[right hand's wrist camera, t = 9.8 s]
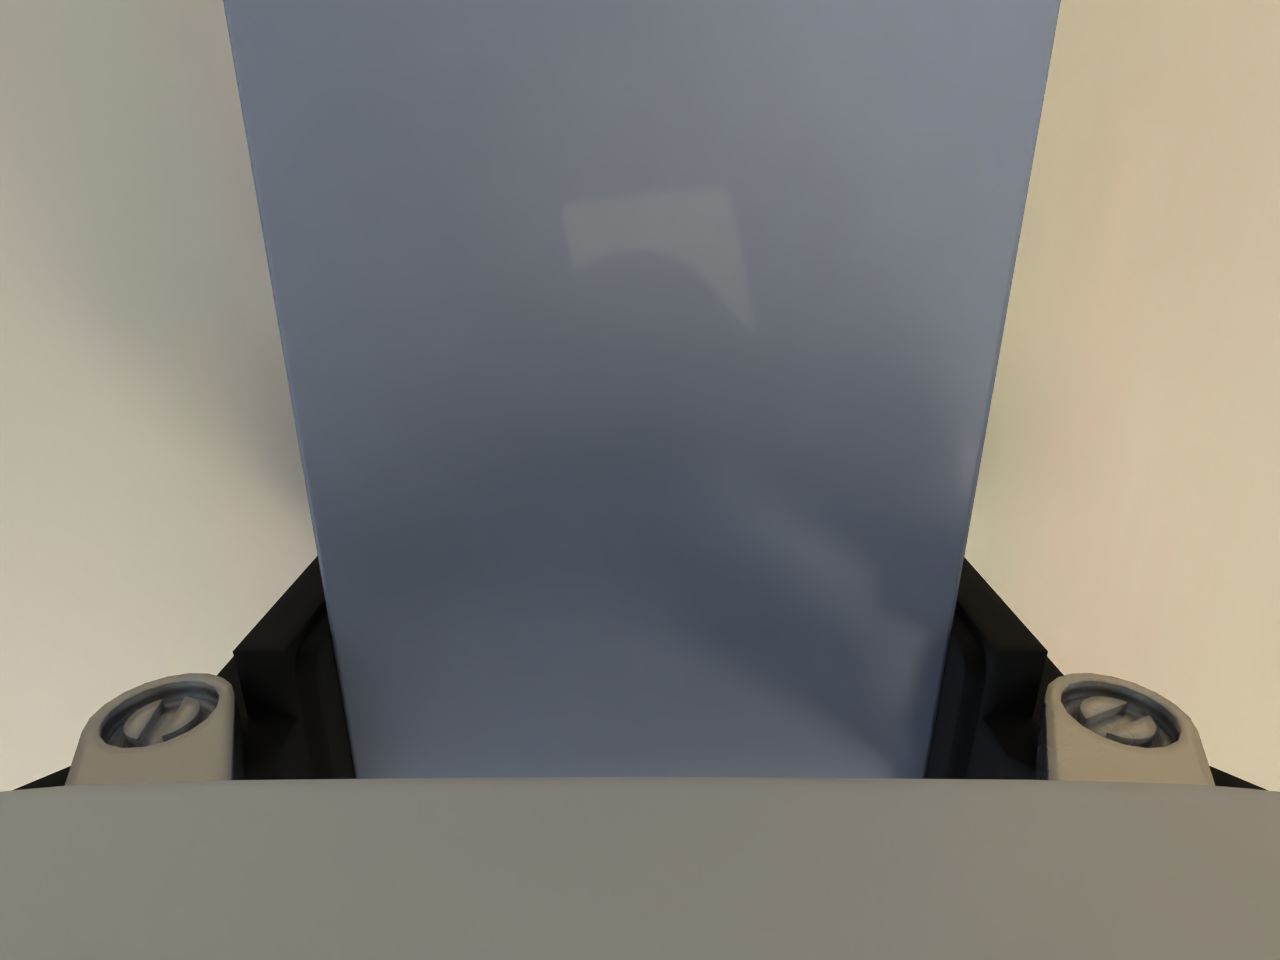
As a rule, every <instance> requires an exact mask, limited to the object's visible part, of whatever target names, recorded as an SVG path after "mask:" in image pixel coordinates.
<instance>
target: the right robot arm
mask: <svg viewBox="0 0 1280 960" xmlns="http://www.w3.org/2000/svg"><path fill="white" fill-rule="evenodd" d="M1047 653H1048V651H1047V650H1046V649H1045V648H1044V647H1043V645H1042V644H1041V643H1040V642H1039V641H1038V640H1037V639H1036V638H1035V636H1034V635H1033V634H1032V633H1031V632H1030V631H1029V630H1028V629H1027V627H1026V626H1025V625H1024V624H1023V623H1022V622H1021V621H1020V620H1019V618H1018V617H1017V616H1016V615H1015V614H1014V613H1013V612H1012V611H1011V609H1010V608H1009V607H1008V606H1007V605H1006V604H1005V603H1004V601H1003V600H1002V599H1001V598H1000V597H999V596H998V595H997V594H996V592H995V591H994V590H993V589H992V588H991V587H990V586H989V585H988V583H987V582H986V581H985V580H984V579H983V578H982V577H981V576H980V574H979V573H978V572H977V571H976V570H975V569H974V568H973V567H972V565H971V564H970V563H969V562H968V561H967V560H966V559H965V558H964V560H963V566H962V572H961V577H960V583H959V589H958V595H957V600H956V606H955V612H954V618H953V623H952V629H951V635H950V640H949V646H948V652H947V658H946V664H945V669H944V675H943V681H942V687H941V693H940V698H939V704H938V710H937V716H936V721H935V727H934V733H933V739H932V745H931V750H930V756H929V762H928V768H927V773H926V779H885V778H771V777H476V778H387V779H356V777H355V771H354V765H353V759H352V753H351V748H350V742H349V736H348V730H347V724H346V718H345V712H344V706H343V701H342V695H341V689H340V683H339V677H338V671H337V665H336V659H335V654H334V648H333V642H332V636H331V630H330V624H329V618H328V612H327V607H326V601H325V595H324V589H323V583H322V577H321V571H320V565H319V560H318V556H317V557H316V558H315V559H314V561H313V562H312V563H311V564H310V565H309V566H308V567H307V568H306V570H305V571H304V572H303V573H302V574H301V575H300V576H299V577H298V579H297V580H296V581H295V582H294V583H293V584H292V585H291V586H290V588H289V589H288V590H287V591H286V592H285V593H284V594H283V595H282V597H281V598H280V599H279V600H278V601H277V602H276V603H275V604H274V606H273V607H272V608H271V609H270V610H269V611H268V612H267V613H266V615H265V616H264V617H263V618H262V619H261V620H260V621H259V622H258V624H257V625H256V626H255V627H254V628H253V629H252V630H251V632H250V633H249V634H248V635H247V636H246V637H245V638H244V639H243V641H242V642H241V643H240V644H239V645H238V646H237V647H236V648H235V650H234V651H233V654H234V657H233V658H232V659H231V660H230V661H229V662H228V663H227V665H226V666H225V667H224V668H223V669H222V670H221V671H220V673H219V674H218V675H217V676H215V675H211V674H198V673H188V674H182V675H175V676H169V677H165V678H161V679H158V680H155V681H151V682H148V683H145V684H142V685H140V686H138V687H136V688H133V689H131V690H129V691H127V692H124V693H122V694H121V695H119V696H118V697H116V698H114V699H113V700H111V701H110V702H108V703H106V704H105V705H104V706H103V707H101V708H100V709H99V710H98V711H97V712H96V713H95V714H94V715H93V716H92V717H91V718H90V719H89V721H88V722H87V724H86V726H85V727H84V729H83V731H82V733H81V736H80V739H79V743H78V746H77V749H76V752H75V755H74V758H73V761H72V764H71V766H70V767H67V768H65V769H63V770H60V771H58V772H55V773H53V774H51V775H48V776H46V777H43V778H41V779H39V780H36V781H34V782H31V783H29V784H27V785H24V786H22V787H19V788H17V789H15V790H12V791H4V792H0V960H1280V792H1275V791H1268V790H1266V789H1263V788H1261V787H1259V786H1256V785H1254V784H1251V783H1249V782H1247V781H1244V780H1242V779H1239V778H1237V777H1235V776H1232V775H1230V774H1227V773H1225V772H1223V771H1220V770H1218V769H1216V768H1213V767H1211V766H1209V764H1208V761H1207V758H1206V755H1205V752H1204V749H1203V746H1202V743H1201V739H1200V736H1199V733H1198V731H1197V729H1196V727H1195V726H1194V724H1193V722H1192V721H1191V719H1190V718H1189V717H1188V716H1187V715H1186V714H1185V713H1184V712H1183V711H1182V710H1181V709H1180V708H1179V707H1177V706H1176V705H1175V704H1174V703H1172V702H1170V701H1169V700H1167V699H1166V698H1164V697H1162V696H1161V695H1159V694H1158V693H1156V692H1153V691H1151V690H1149V689H1147V688H1144V687H1142V686H1140V685H1138V684H1135V683H1132V682H1129V681H1125V680H1122V679H1119V678H1115V677H1111V676H1105V675H1098V674H1092V673H1082V674H1069V675H1065V676H1064V675H1063V674H1062V673H1061V672H1060V671H1059V670H1058V668H1057V667H1056V666H1055V665H1054V664H1053V663H1052V662H1051V660H1050V659H1049V658H1048V657H1047Z"/></svg>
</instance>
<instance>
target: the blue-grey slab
mask: <svg viewBox="0 0 1280 960" xmlns="http://www.w3.org/2000/svg"><path fill="white" fill-rule="evenodd" d="M223 1H224V7H225V13H226V19H227V25H228V31H229V37H230V43H231V48H232V54H233V60H234V66H235V72H236V78H237V84H238V90H239V95H240V101H241V107H242V113H243V119H244V125H245V131H246V137H247V142H248V148H249V154H250V160H251V166H252V172H253V178H254V184H255V189H256V195H257V201H258V207H259V213H260V219H261V225H262V231H263V236H264V242H265V248H266V254H267V260H268V266H269V272H270V278H271V283H272V289H273V295H274V301H275V307H276V313H277V319H278V325H279V330H280V336H281V342H282V348H283V354H284V360H285V366H286V372H287V377H288V383H289V389H290V395H291V401H292V407H293V413H294V419H295V424H296V430H297V436H298V442H299V448H300V454H301V460H302V466H303V471H304V477H305V483H306V489H307V495H308V501H309V507H310V513H311V518H312V524H313V530H314V536H315V542H316V548H317V554H318V560H319V565H320V571H321V577H322V583H323V589H324V595H325V601H326V607H327V612H328V618H329V624H330V630H331V636H332V642H333V648H334V654H335V659H336V665H337V671H338V677H339V683H340V689H341V695H342V701H343V706H344V712H345V718H346V724H347V730H348V736H349V742H350V748H351V753H352V759H353V765H354V771H355V777H356V779H387V778H476V777H771V778H885V779H926V773H927V768H928V762H929V756H930V750H931V745H932V739H933V733H934V727H935V721H936V716H937V710H938V704H939V698H940V693H941V687H942V681H943V675H944V669H945V664H946V658H947V652H948V646H949V640H950V635H951V629H952V623H953V618H954V612H955V606H956V600H957V595H958V589H959V583H960V577H961V572H962V566H963V560H964V554H965V548H966V543H967V537H968V531H969V525H970V520H971V514H972V508H973V502H974V497H975V491H976V485H977V479H978V474H979V468H980V462H981V456H982V450H983V445H984V439H985V433H986V427H987V422H988V416H989V410H990V404H991V399H992V393H993V387H994V381H995V376H996V370H997V364H998V358H999V352H1000V347H1001V341H1002V335H1003V329H1004V324H1005V318H1006V312H1007V306H1008V301H1009V295H1010V289H1011V283H1012V278H1013V272H1014V266H1015V260H1016V254H1017V249H1018V243H1019V237H1020V231H1021V226H1022V220H1023V214H1024V208H1025V203H1026V197H1027V191H1028V185H1029V179H1030V174H1031V168H1032V162H1033V156H1034V151H1035V145H1036V139H1037V133H1038V128H1039V122H1040V116H1041V110H1042V105H1043V99H1044V93H1045V87H1046V81H1047V76H1048V70H1049V64H1050V58H1051V53H1052V47H1053V41H1054V35H1055V30H1056V24H1057V18H1058V12H1059V7H1060V1H1061V0H223Z"/></svg>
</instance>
